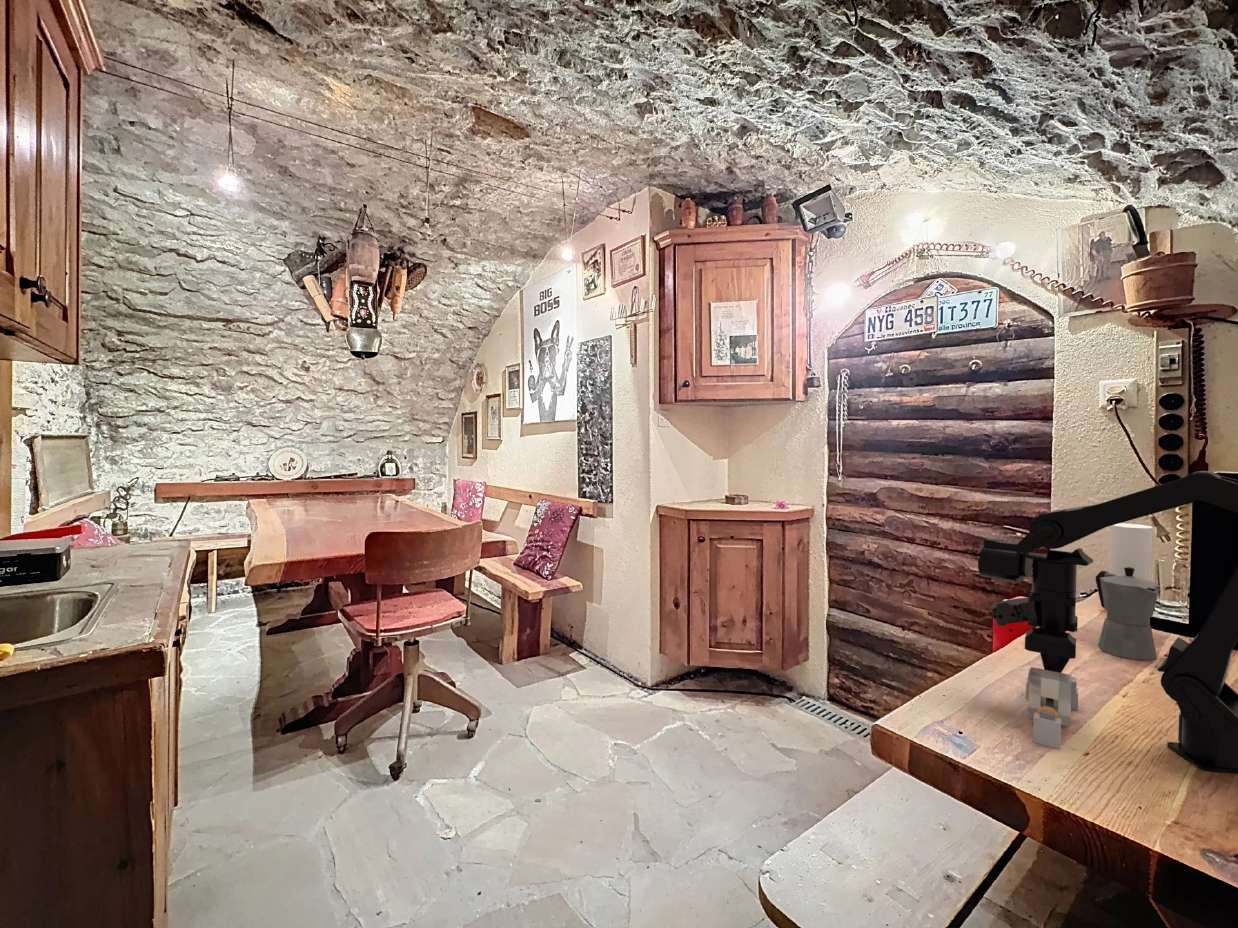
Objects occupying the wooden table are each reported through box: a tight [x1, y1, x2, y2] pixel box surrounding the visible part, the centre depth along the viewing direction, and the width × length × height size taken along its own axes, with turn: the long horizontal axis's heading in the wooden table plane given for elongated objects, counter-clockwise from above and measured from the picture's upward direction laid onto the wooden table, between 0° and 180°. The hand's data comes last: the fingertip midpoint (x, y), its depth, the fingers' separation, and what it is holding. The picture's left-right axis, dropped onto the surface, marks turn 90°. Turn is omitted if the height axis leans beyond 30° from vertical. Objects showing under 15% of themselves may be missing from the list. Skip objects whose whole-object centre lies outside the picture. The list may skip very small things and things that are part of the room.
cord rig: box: [1025, 667, 1079, 750], centre depth 91 cm, size 19×7×5 cm, turn 141°
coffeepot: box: [1095, 567, 1161, 661], centre depth 120 cm, size 15×9×18 cm, turn 175°
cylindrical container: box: [1108, 522, 1154, 624], centre depth 129 cm, size 7×7×25 cm
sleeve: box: [1027, 666, 1073, 727], centre depth 90 cm, size 4×5×7 cm
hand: (1051, 681), depth 94 cm, fingers closed
